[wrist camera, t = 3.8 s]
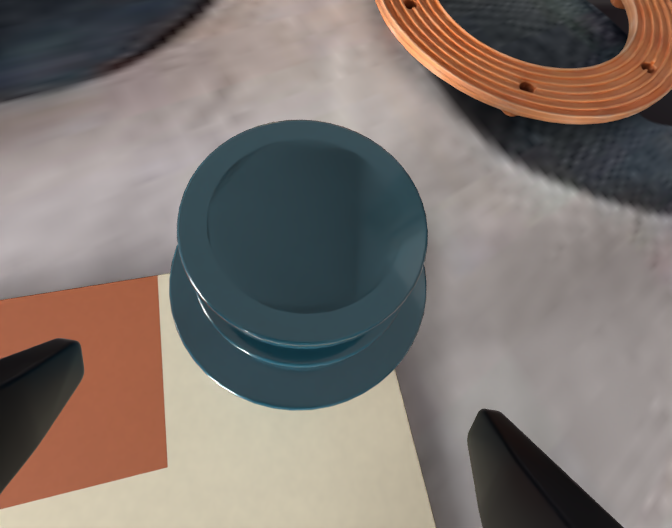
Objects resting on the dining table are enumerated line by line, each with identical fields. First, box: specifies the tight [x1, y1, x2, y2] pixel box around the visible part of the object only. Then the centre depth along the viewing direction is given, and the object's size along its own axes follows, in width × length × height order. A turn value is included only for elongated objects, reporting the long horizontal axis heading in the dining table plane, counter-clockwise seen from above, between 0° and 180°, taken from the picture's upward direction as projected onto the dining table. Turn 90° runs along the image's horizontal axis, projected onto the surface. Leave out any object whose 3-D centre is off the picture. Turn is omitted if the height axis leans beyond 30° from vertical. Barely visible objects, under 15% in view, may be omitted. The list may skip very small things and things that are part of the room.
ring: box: [375, 0, 672, 124], centre depth 28 cm, size 25×25×2 cm
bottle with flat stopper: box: [169, 120, 428, 411], centre depth 12 cm, size 6×6×13 cm
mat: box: [0, 273, 436, 528], centre depth 15 cm, size 20×20×1 cm
